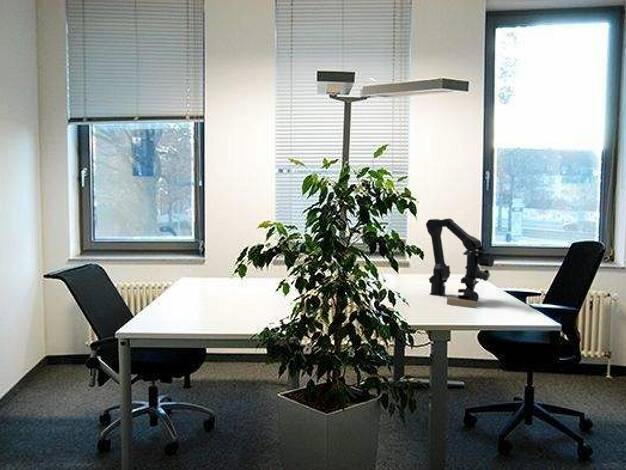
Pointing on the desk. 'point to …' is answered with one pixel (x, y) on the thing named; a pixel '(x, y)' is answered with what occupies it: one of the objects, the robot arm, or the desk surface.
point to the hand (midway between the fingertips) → (471, 295)
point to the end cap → (468, 295)
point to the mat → (463, 303)
